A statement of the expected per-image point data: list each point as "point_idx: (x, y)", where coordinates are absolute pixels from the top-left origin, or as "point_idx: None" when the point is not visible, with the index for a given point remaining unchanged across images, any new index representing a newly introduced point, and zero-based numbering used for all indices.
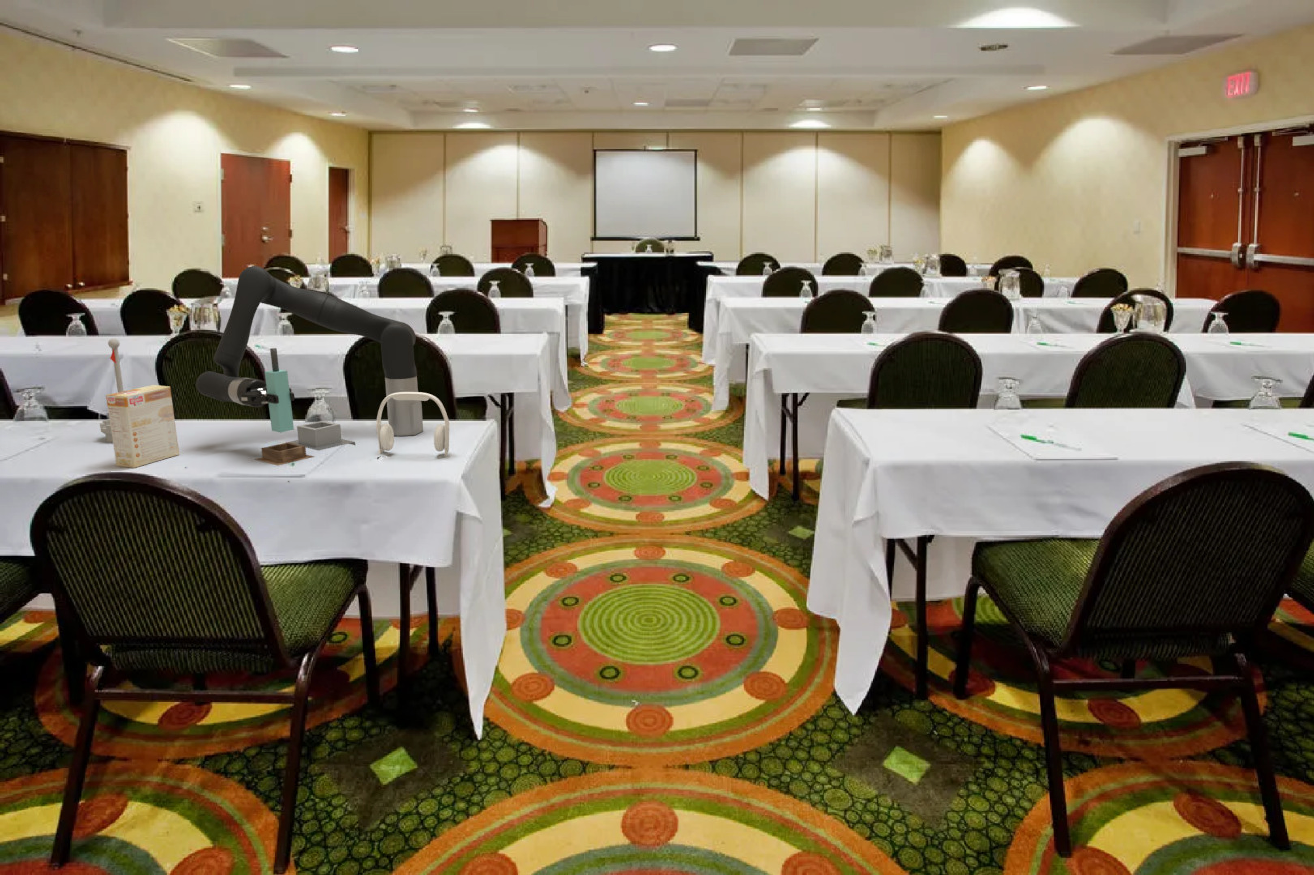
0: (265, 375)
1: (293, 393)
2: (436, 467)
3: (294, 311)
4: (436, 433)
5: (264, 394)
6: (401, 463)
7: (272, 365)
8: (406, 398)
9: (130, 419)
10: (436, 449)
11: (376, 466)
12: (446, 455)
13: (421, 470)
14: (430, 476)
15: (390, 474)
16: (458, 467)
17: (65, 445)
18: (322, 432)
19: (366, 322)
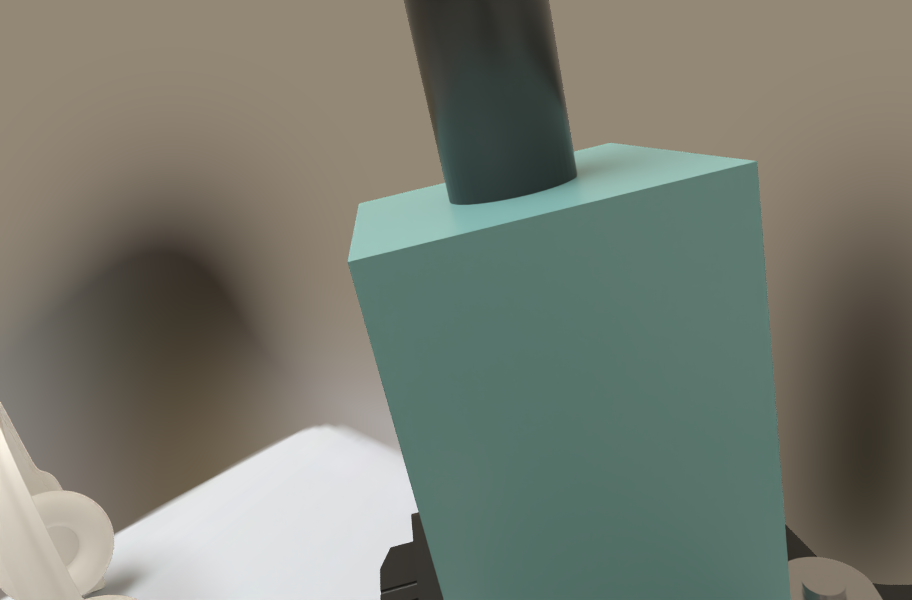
0: (757, 259)
1: (414, 517)
2: (245, 500)
3: None
4: (90, 500)
5: (849, 566)
6: (251, 586)
7: (551, 34)
8: (2, 423)
9: None
10: (107, 567)
11: (337, 595)
12: (92, 588)
13: (295, 492)
14: (332, 444)
15: (383, 493)
16: (219, 478)
17: None
18: None
19: None
